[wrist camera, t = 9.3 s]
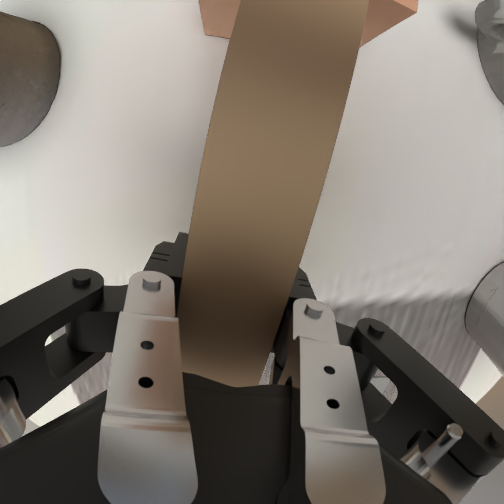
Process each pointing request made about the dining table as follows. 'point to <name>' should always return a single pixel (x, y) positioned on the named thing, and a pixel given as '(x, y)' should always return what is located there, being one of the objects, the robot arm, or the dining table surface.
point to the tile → (377, 21)
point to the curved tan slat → (262, 178)
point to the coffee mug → (492, 43)
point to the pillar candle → (25, 76)
